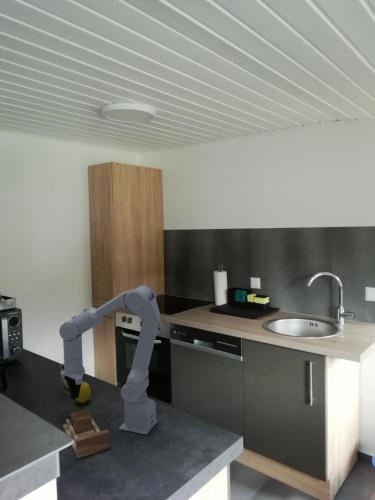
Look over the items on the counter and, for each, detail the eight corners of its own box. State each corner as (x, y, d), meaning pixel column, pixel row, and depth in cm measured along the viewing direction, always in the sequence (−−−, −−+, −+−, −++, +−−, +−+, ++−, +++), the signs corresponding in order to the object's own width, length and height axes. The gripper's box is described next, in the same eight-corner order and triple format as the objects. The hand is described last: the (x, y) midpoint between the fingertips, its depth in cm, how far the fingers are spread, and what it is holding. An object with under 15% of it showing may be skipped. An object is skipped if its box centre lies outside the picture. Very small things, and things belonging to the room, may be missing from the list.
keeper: (71, 426, 118) (71, 413, 118) (87, 421, 120) (87, 409, 120) (75, 433, 114) (74, 420, 113) (92, 428, 116) (91, 416, 116)
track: (63, 427, 119) (62, 412, 119) (91, 419, 124) (91, 404, 123) (77, 458, 103) (77, 441, 103) (109, 448, 108) (109, 431, 107)
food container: (92, 393, 142) (91, 367, 141) (77, 399, 138) (76, 372, 137) (75, 384, 151) (73, 359, 150) (60, 389, 146) (59, 364, 145)
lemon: (84, 397, 139) (84, 376, 138) (94, 402, 135) (93, 380, 135) (71, 403, 134) (70, 382, 134) (81, 408, 131) (80, 386, 130)
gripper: (55, 352, 126) (57, 391, 127) (65, 366, 114) (67, 410, 115) (77, 348, 130) (78, 386, 131) (88, 362, 117) (90, 404, 118)
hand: (74, 397), depth 123 cm, fingers closed
